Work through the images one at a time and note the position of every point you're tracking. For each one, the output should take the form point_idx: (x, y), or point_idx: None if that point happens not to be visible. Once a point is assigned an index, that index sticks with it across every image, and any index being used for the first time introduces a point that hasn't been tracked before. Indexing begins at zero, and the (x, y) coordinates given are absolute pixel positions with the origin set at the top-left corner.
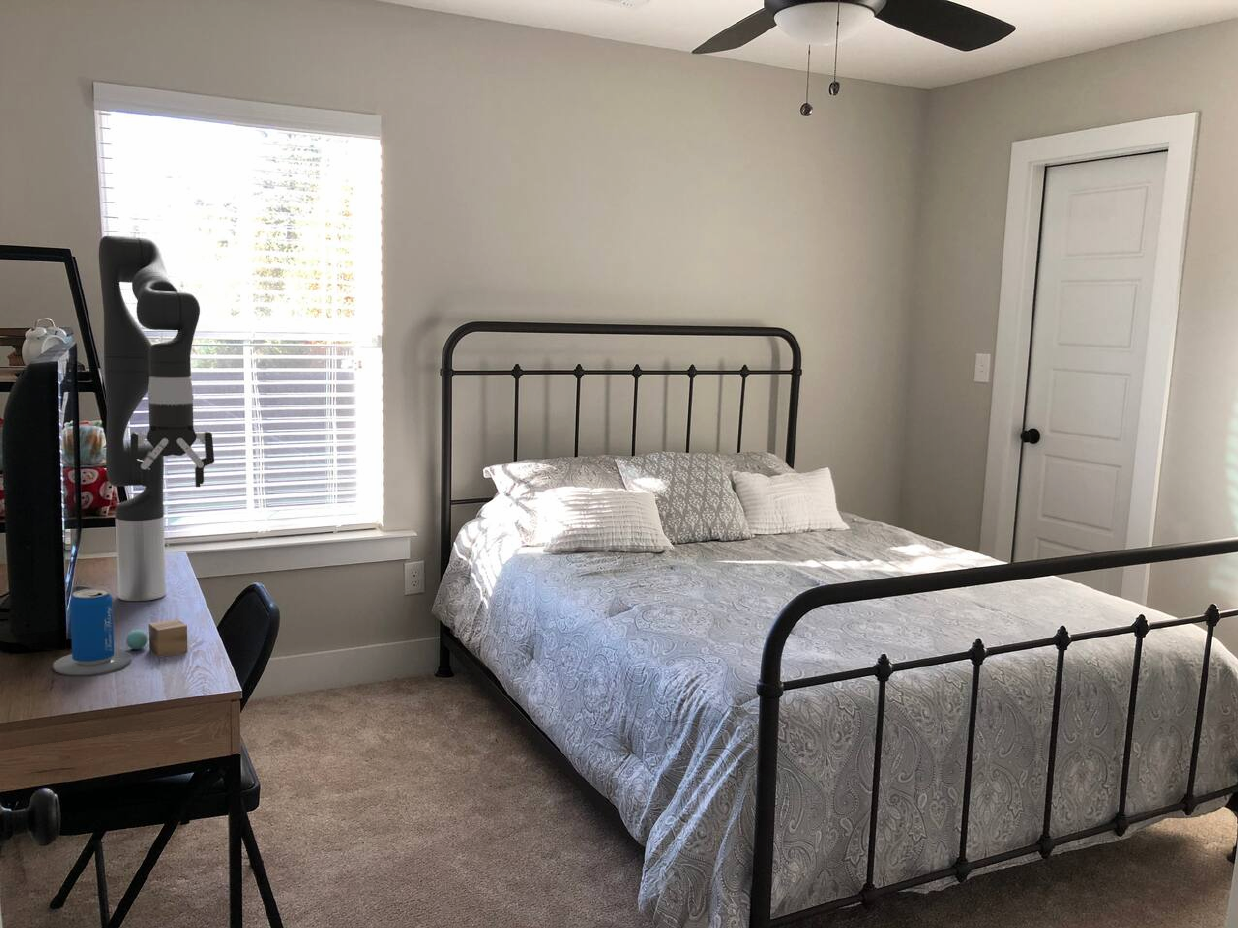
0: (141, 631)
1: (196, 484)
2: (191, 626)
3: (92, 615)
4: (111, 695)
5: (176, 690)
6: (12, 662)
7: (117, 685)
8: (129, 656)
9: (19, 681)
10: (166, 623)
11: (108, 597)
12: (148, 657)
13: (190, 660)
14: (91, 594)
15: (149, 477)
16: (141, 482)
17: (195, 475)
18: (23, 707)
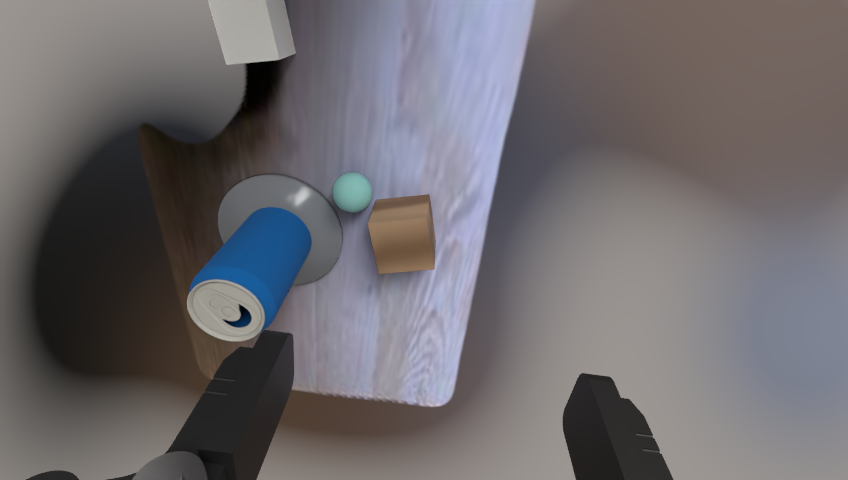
0: (357, 204)
1: (566, 436)
2: (486, 75)
3: (247, 318)
4: (309, 360)
5: (387, 378)
6: (144, 158)
7: (317, 332)
8: (337, 241)
9: (180, 259)
10: (400, 240)
11: (266, 324)
12: (369, 240)
13: (429, 284)
14: (228, 314)
15: (262, 456)
16: (223, 368)
17: (601, 444)
18: (207, 350)
